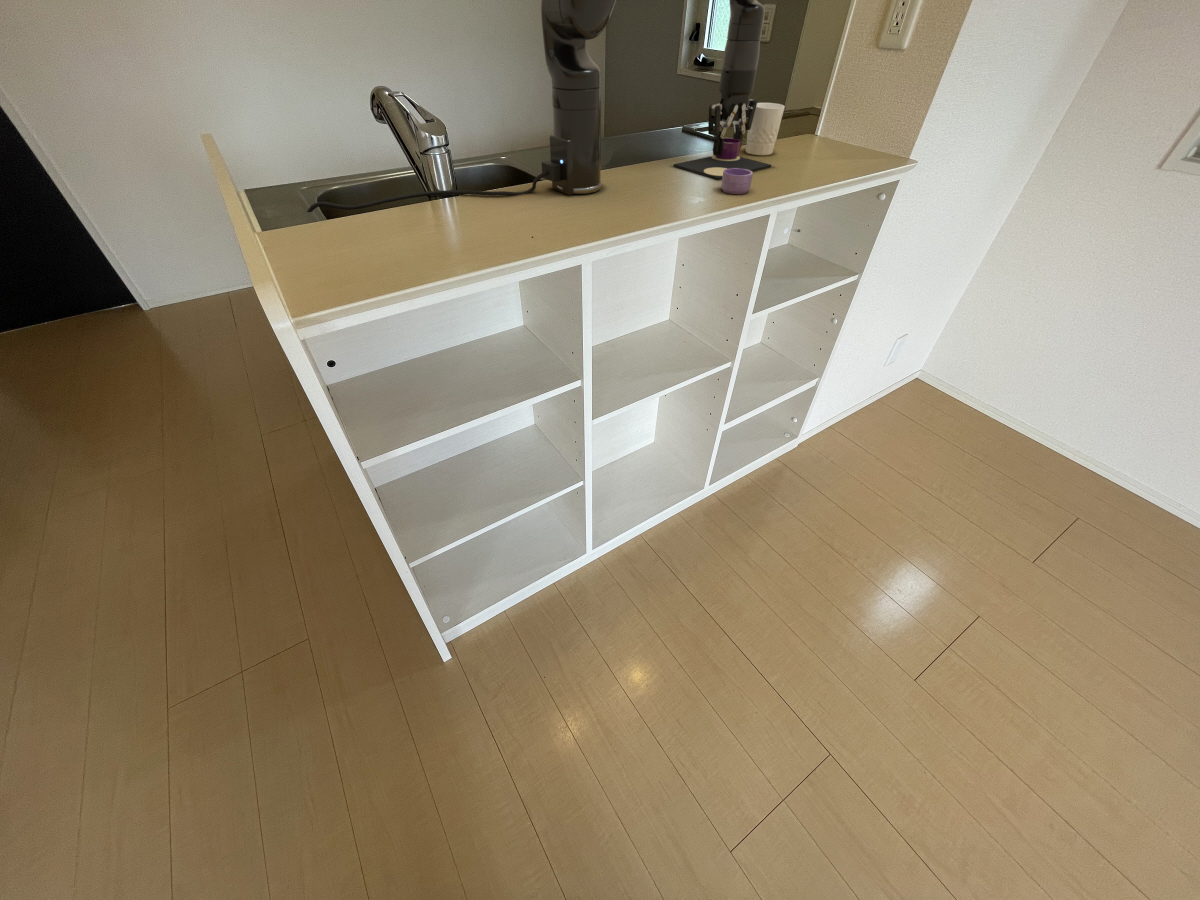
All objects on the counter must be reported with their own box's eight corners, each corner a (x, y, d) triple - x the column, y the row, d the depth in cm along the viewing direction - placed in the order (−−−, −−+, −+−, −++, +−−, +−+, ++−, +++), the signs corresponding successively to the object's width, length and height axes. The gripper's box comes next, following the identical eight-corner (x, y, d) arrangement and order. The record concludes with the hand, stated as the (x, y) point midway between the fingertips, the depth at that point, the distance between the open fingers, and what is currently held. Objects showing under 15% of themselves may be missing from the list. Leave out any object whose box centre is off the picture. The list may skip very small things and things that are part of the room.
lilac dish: (736, 196, 101) (739, 177, 99) (714, 189, 104) (717, 170, 102) (755, 191, 103) (759, 172, 101) (733, 184, 107) (736, 166, 105)
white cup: (778, 156, 125) (788, 108, 118) (746, 156, 125) (754, 108, 119) (770, 149, 131) (780, 102, 124) (740, 148, 131) (748, 102, 124)
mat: (719, 180, 109) (719, 177, 109) (672, 166, 118) (672, 163, 118) (772, 167, 118) (772, 164, 117) (724, 155, 126) (725, 152, 126)
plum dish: (727, 161, 119) (729, 144, 117) (708, 156, 123) (711, 139, 120) (743, 157, 122) (746, 141, 119) (725, 152, 125) (727, 136, 123)
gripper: (747, 62, 116) (734, 146, 127) (704, 67, 109) (694, 155, 121) (774, 65, 111) (757, 152, 123) (730, 70, 105) (717, 161, 116)
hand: (726, 153), depth 122 cm, fingers closed on plum dish, 5 cm apart
